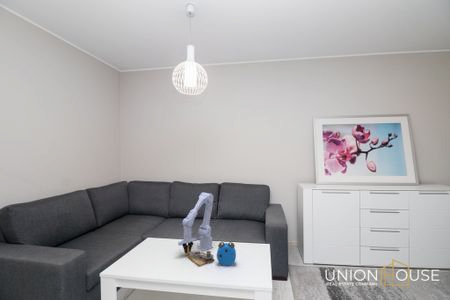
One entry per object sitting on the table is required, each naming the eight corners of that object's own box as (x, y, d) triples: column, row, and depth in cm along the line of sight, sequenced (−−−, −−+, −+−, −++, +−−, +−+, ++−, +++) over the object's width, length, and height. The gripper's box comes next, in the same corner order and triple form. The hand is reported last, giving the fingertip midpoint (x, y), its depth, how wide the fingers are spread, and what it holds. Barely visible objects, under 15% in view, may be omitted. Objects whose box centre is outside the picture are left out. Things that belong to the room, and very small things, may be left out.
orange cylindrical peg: (188, 254, 169) (188, 245, 169) (189, 255, 167) (189, 246, 167) (185, 255, 167) (185, 245, 167) (186, 256, 165) (186, 246, 165)
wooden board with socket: (202, 252, 171) (202, 244, 171) (215, 261, 158) (215, 252, 158) (187, 257, 163) (187, 248, 163) (199, 267, 150) (199, 257, 150)
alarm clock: (235, 262, 157) (235, 240, 157) (235, 266, 151) (235, 244, 151) (217, 261, 158) (217, 240, 158) (216, 266, 151) (216, 244, 151)
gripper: (193, 230, 175) (193, 248, 175) (176, 235, 166) (176, 253, 166) (198, 233, 169) (198, 251, 169) (180, 238, 160) (180, 256, 160)
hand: (187, 252), depth 167 cm, fingers closed on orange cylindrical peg, 2 cm apart
